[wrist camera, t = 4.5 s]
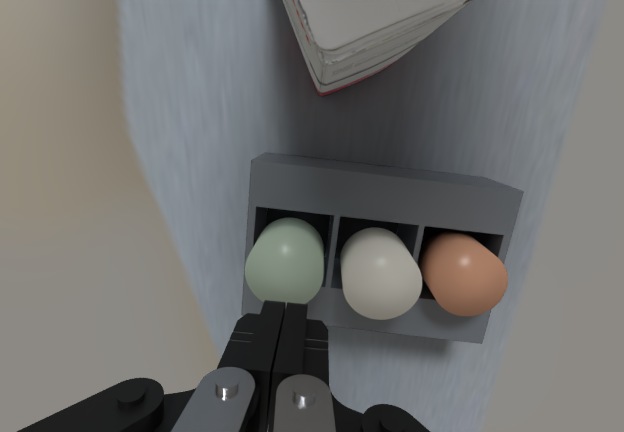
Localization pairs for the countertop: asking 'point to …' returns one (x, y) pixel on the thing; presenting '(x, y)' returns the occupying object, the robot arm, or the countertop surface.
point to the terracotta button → (462, 273)
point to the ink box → (361, 35)
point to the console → (383, 207)
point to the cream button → (379, 274)
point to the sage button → (286, 262)
